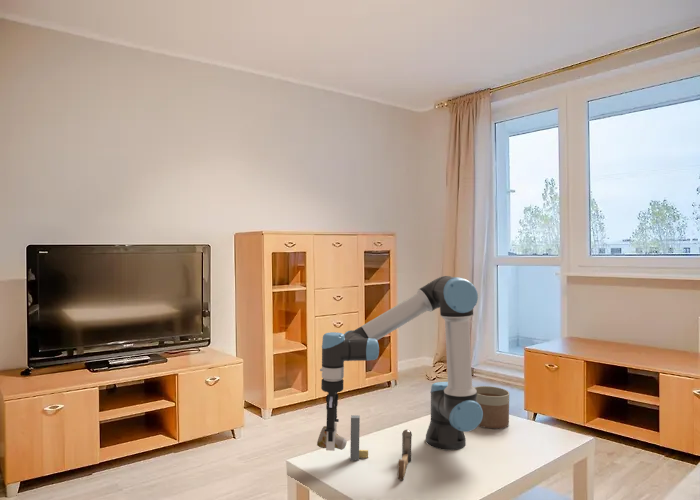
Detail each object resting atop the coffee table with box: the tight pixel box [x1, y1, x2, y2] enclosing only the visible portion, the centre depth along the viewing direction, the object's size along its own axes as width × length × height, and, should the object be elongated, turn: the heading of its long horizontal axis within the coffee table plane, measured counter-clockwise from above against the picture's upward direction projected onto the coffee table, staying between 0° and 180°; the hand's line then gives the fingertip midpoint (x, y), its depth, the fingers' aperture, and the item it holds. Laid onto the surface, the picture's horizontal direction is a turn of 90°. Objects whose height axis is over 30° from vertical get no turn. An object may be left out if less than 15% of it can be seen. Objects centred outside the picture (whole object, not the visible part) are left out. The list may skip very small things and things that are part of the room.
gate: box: [397, 454, 409, 481], centre depth 173 cm, size 14×2×6 cm, turn 167°
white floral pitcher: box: [316, 425, 347, 450], centre depth 176 cm, size 8×10×10 cm
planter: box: [473, 385, 510, 429], centre depth 222 cm, size 16×16×14 cm
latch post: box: [349, 414, 369, 462], centre depth 183 cm, size 6×4×15 cm, turn 87°
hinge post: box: [401, 429, 413, 464], centre depth 182 cm, size 3×3×11 cm
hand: (331, 445), depth 176 cm, fingers closed on white floral pitcher, 7 cm apart
